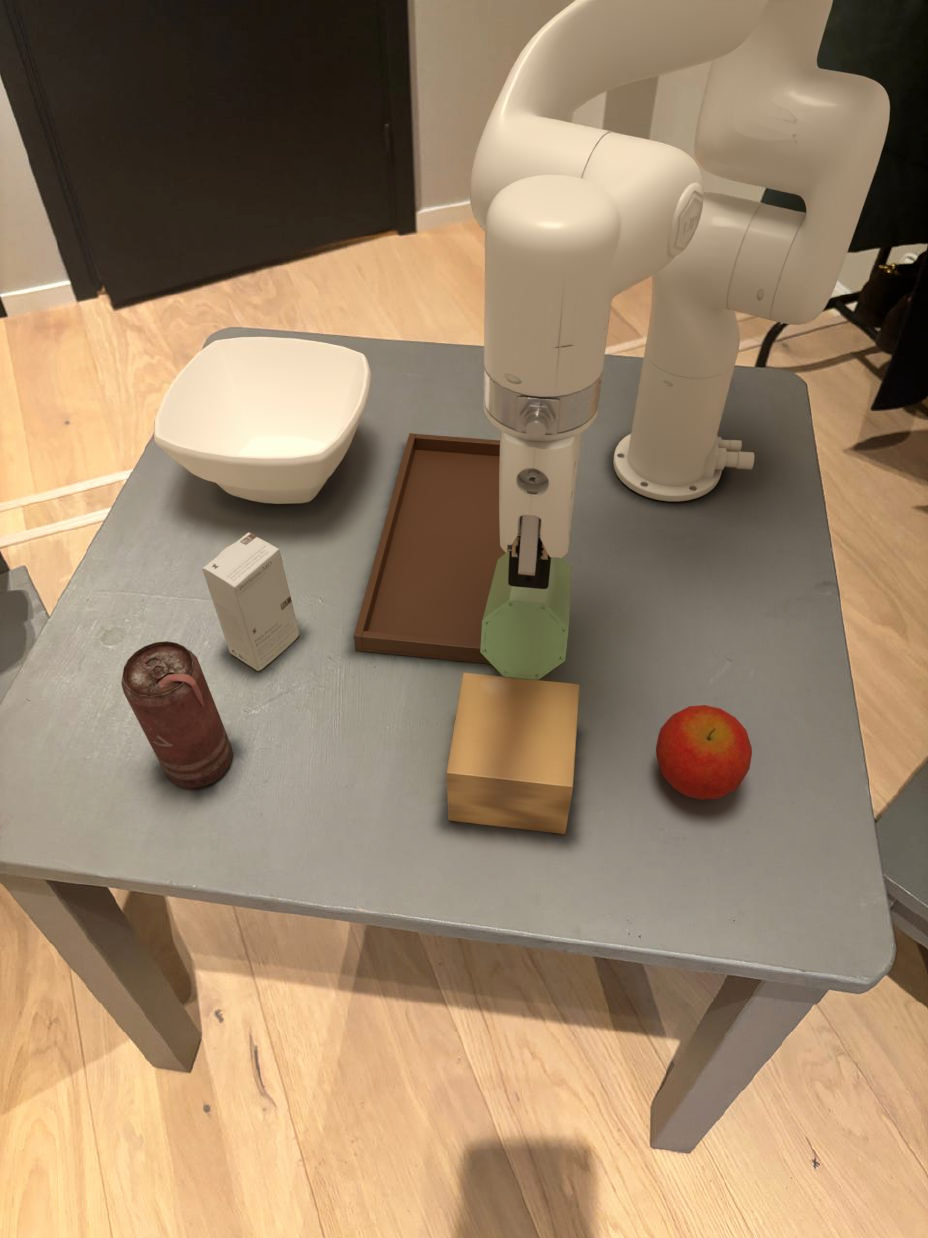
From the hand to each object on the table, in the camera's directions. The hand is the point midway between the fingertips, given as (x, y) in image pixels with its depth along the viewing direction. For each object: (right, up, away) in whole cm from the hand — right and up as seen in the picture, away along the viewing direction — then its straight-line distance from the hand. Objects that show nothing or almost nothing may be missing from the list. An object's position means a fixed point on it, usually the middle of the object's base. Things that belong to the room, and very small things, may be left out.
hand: (528, 580), depth 72 cm
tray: (-5, +5, +27) cm, 28 cm away
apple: (+15, -17, +8) cm, 24 cm away
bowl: (-27, +14, +35) cm, 46 cm away
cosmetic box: (-25, -6, +18) cm, 31 cm away
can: (-29, -16, +9) cm, 34 cm away
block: (-1, -17, +8) cm, 19 cm away
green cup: (0, -5, +3) cm, 6 cm away
